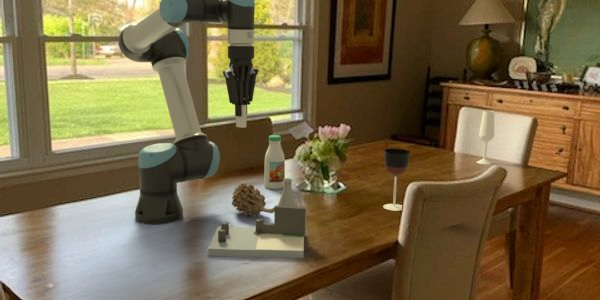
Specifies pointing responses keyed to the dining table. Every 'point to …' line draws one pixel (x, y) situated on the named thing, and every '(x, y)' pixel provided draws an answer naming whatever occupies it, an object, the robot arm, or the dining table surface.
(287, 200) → the flask
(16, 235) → the dining table surface
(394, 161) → the wineglass
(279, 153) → the milk bottle
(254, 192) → the pine cone
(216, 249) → the board
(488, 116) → the champagne flute
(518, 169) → the dining table surface
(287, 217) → the gate
